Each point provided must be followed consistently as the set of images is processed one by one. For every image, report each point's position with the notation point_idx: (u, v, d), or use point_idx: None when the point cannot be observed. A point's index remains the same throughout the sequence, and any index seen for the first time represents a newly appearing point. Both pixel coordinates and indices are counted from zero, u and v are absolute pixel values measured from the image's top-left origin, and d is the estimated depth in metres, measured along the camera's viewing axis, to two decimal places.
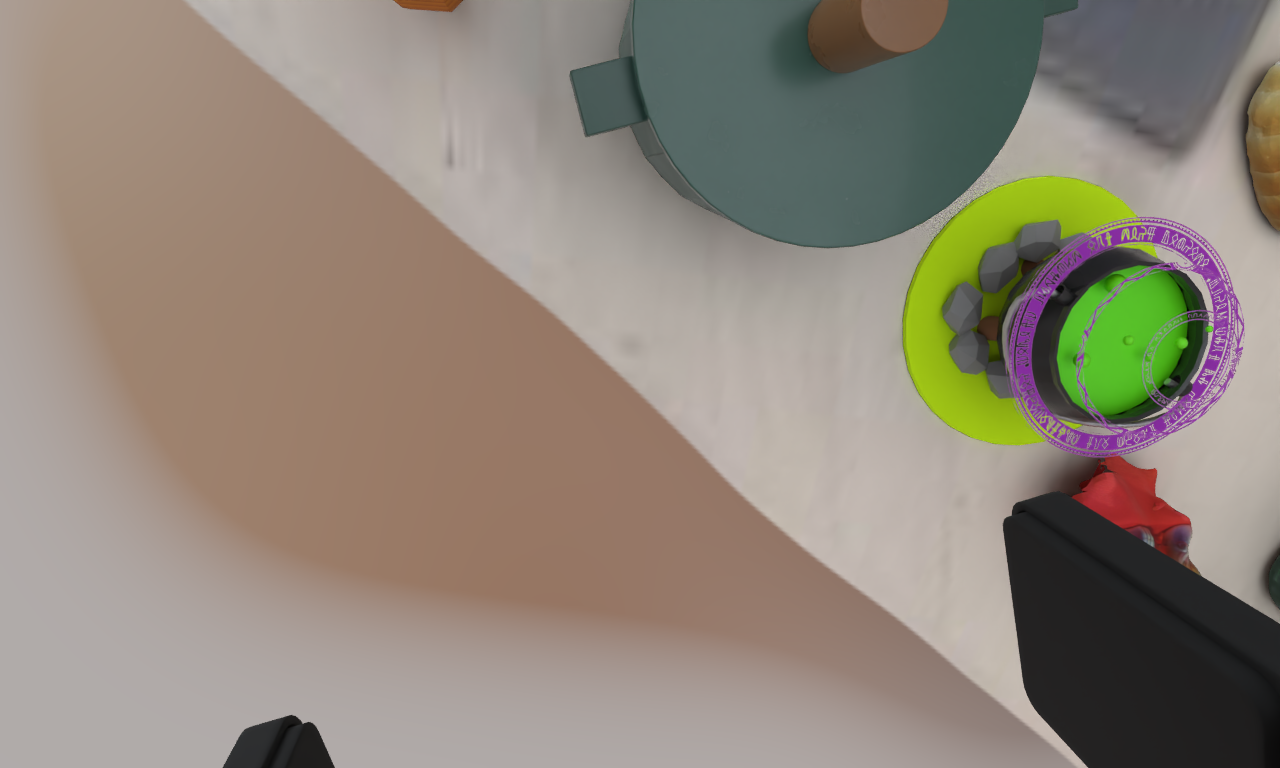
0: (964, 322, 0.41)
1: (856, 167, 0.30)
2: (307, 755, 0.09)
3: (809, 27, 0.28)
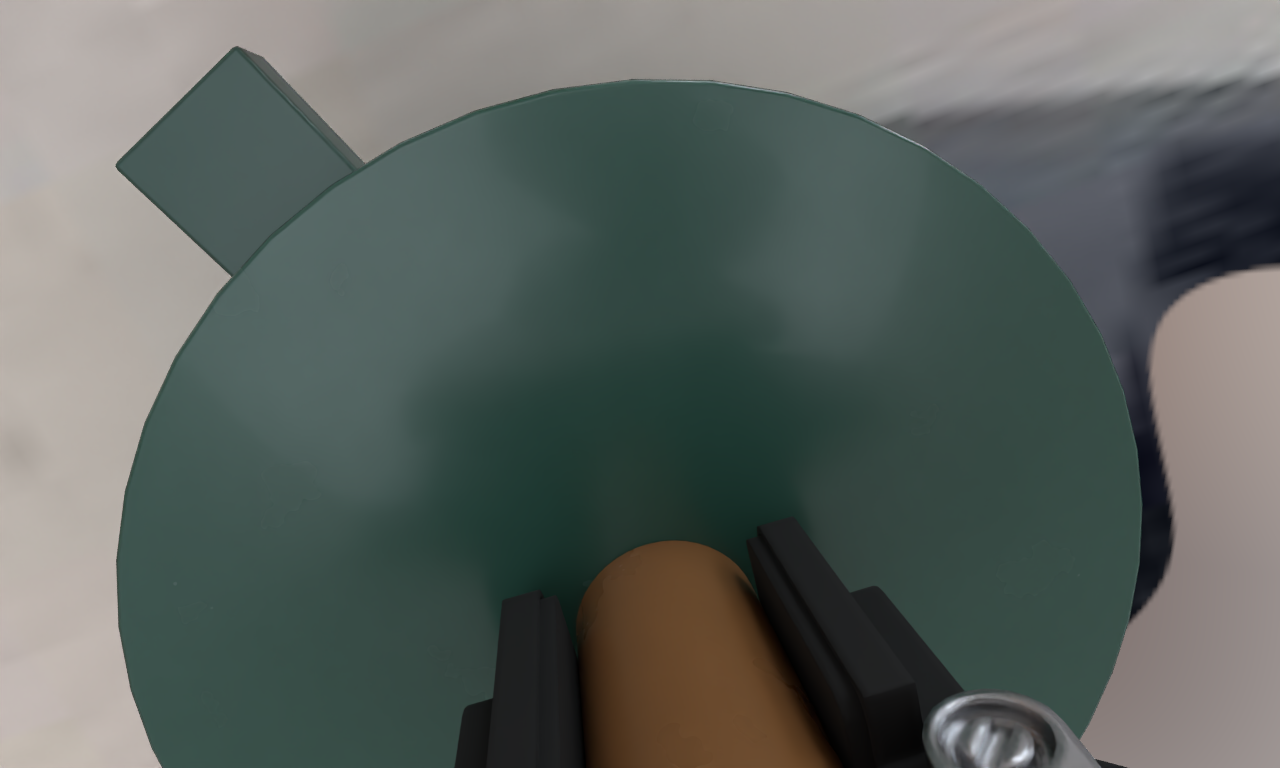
0: None
1: None
2: (560, 620, 0.10)
3: (633, 555, 0.11)
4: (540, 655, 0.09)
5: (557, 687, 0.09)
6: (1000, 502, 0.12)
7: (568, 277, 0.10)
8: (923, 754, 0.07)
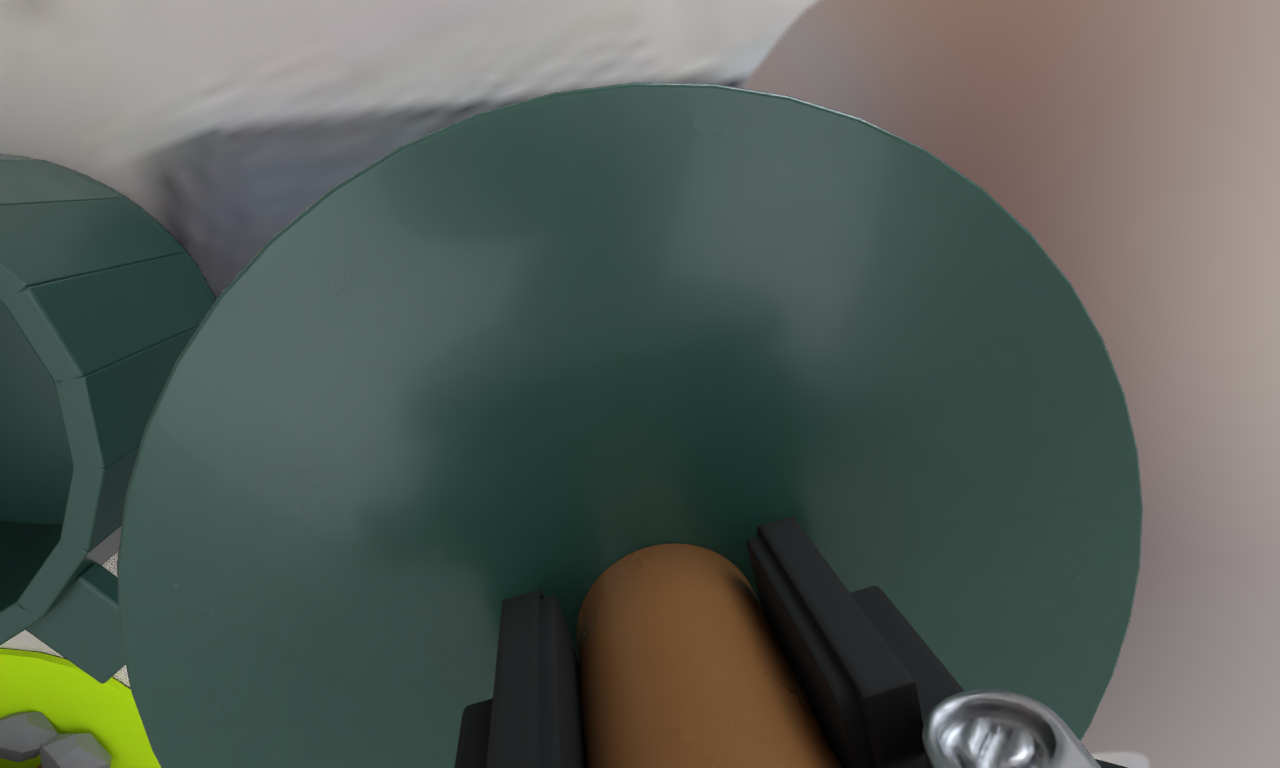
0: None
1: None
2: (560, 621, 0.10)
3: (634, 558, 0.11)
4: (540, 656, 0.09)
5: (557, 687, 0.09)
6: (1001, 505, 0.12)
7: (569, 280, 0.10)
8: (923, 754, 0.07)
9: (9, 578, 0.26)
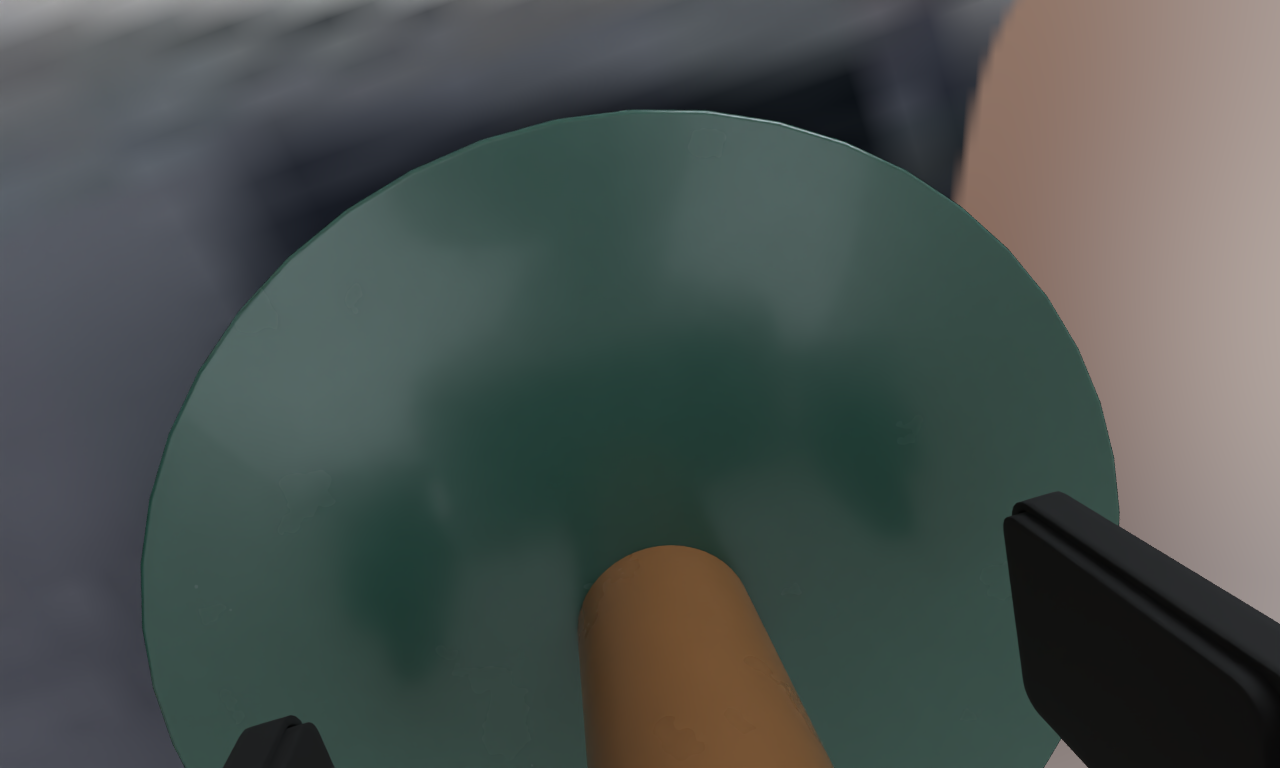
0: None
1: None
2: (307, 755, 0.09)
3: (632, 559, 0.12)
4: None
5: None
6: (983, 508, 0.13)
7: (570, 295, 0.11)
8: None
9: None
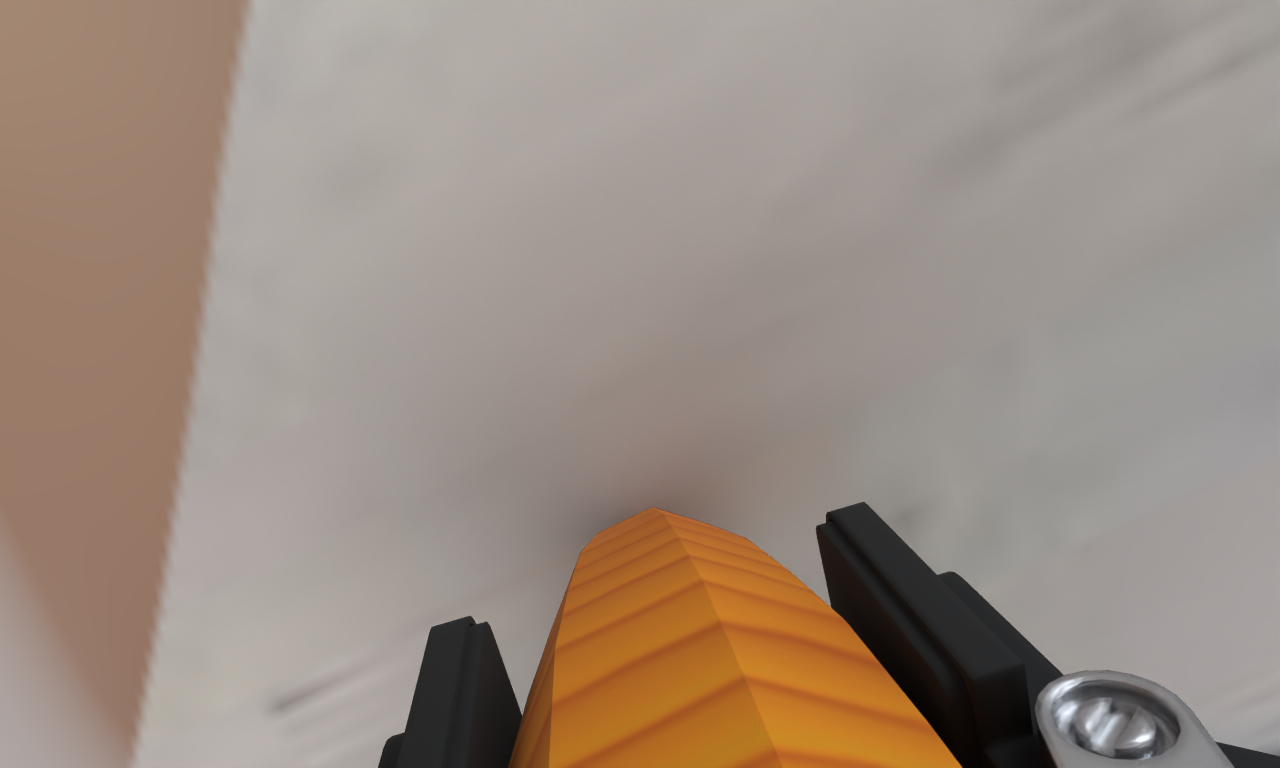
0: None
1: None
2: (490, 648, 0.10)
3: None
4: (460, 688, 0.09)
5: (471, 723, 0.09)
6: None
7: None
8: (1030, 737, 0.07)
9: None
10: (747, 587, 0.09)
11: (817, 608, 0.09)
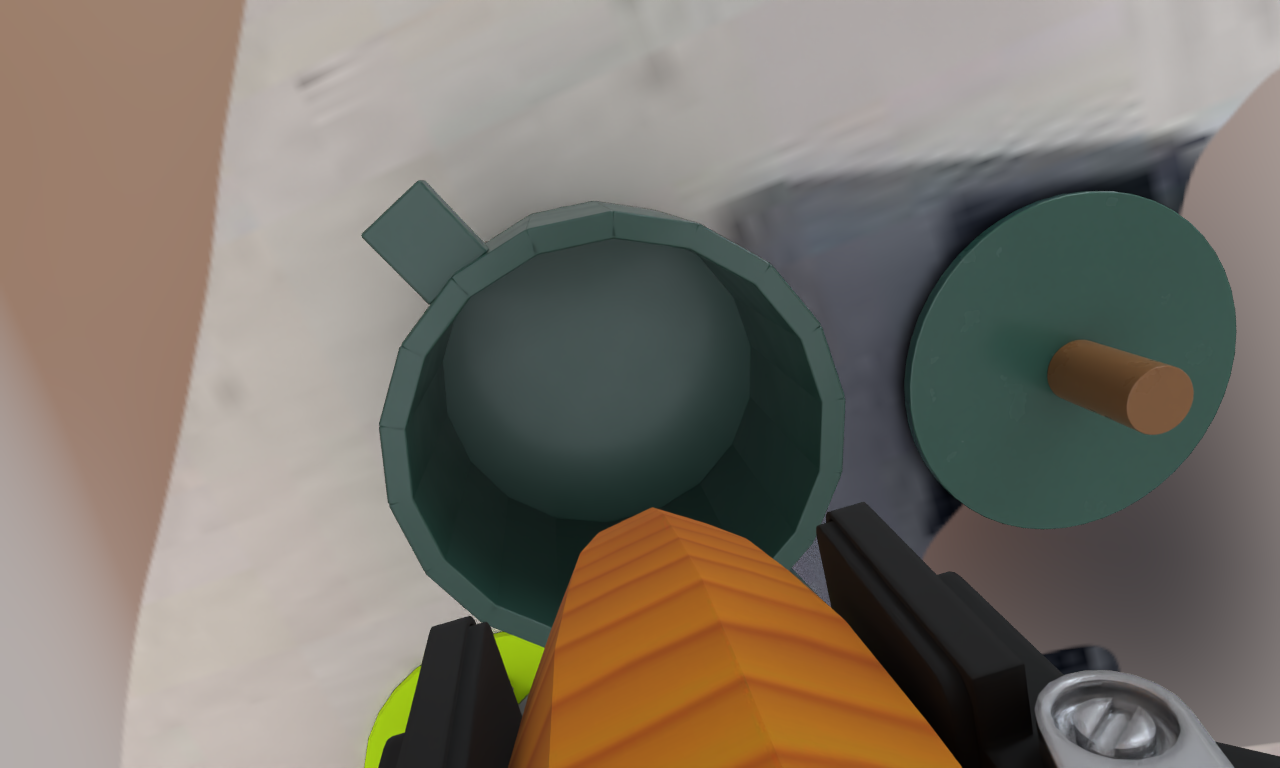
0: None
1: (987, 434, 0.35)
2: (490, 649, 0.10)
3: (1072, 343, 0.34)
4: (460, 688, 0.09)
5: (471, 723, 0.09)
6: (1188, 329, 0.35)
7: (1063, 251, 0.33)
8: (1029, 737, 0.07)
9: None
10: (748, 588, 0.09)
11: (817, 608, 0.09)
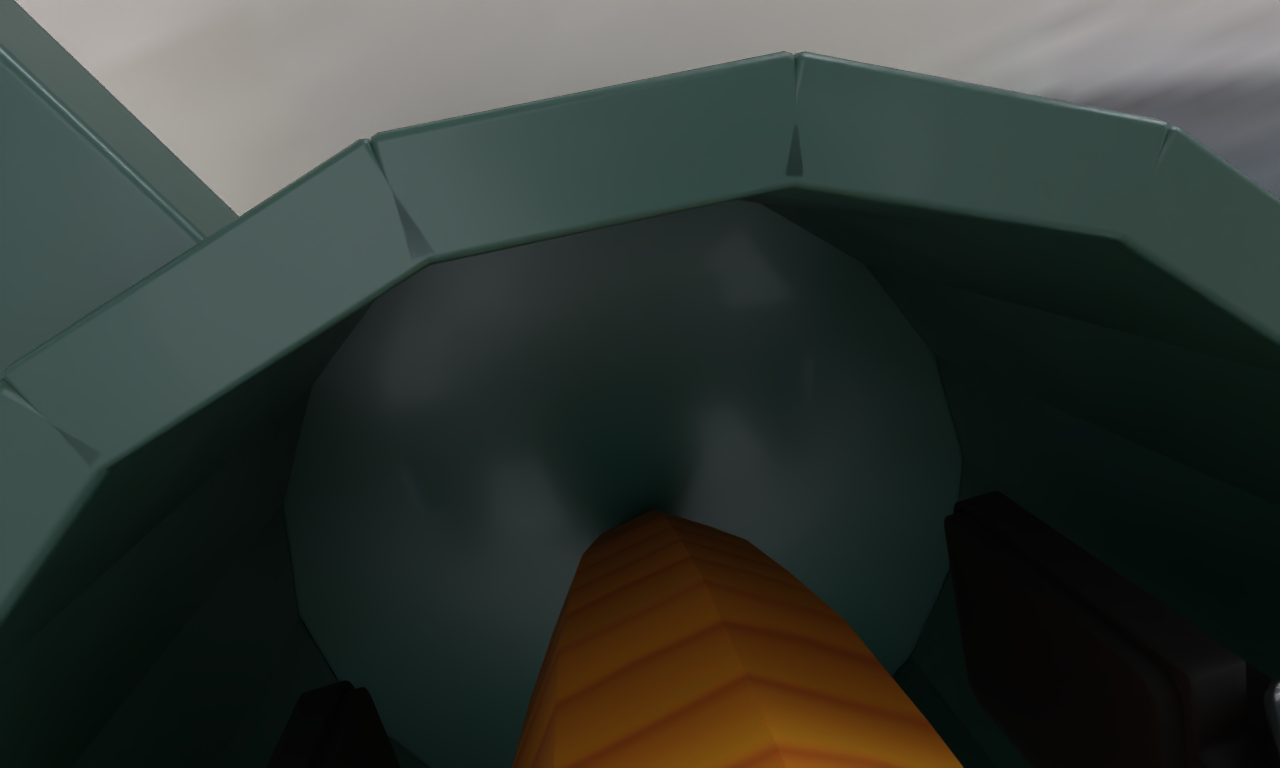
0: None
1: None
2: (363, 717, 0.10)
3: None
4: None
5: None
6: None
7: None
8: (1246, 741, 0.07)
9: None
10: (748, 588, 0.09)
11: (817, 608, 0.09)
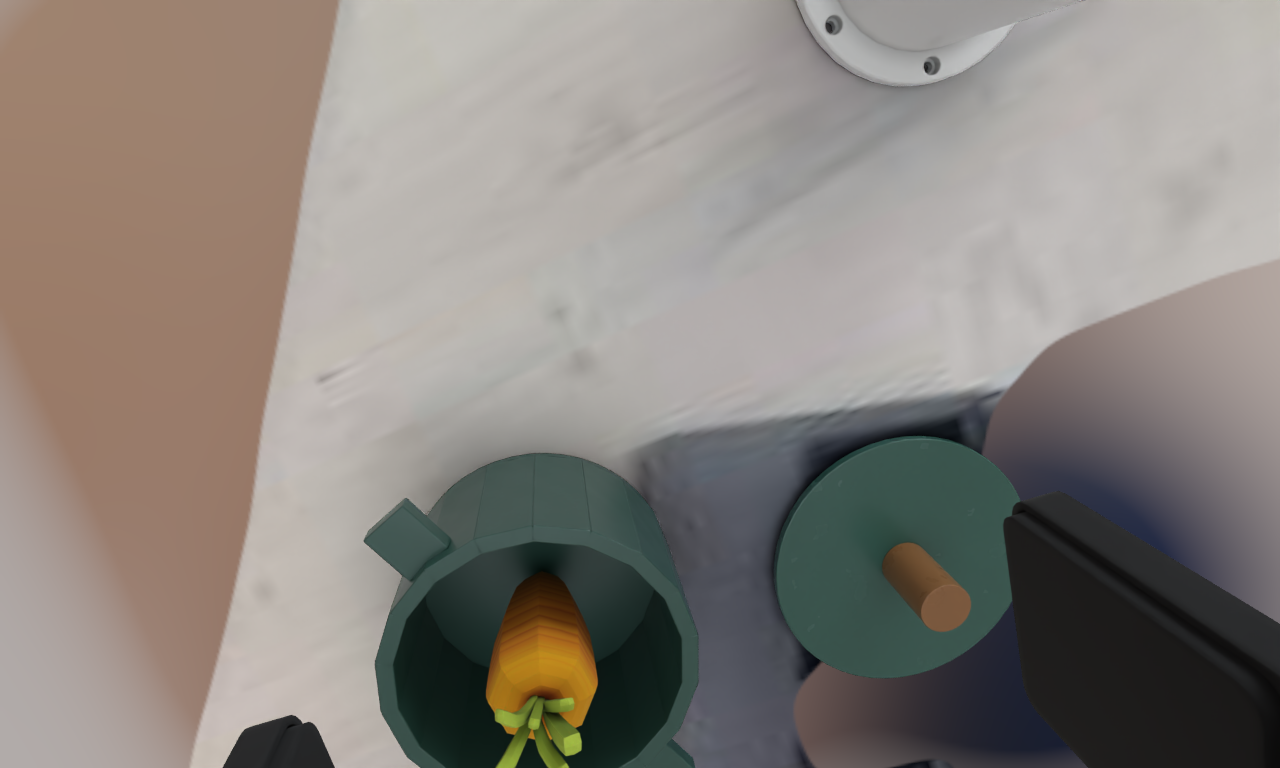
0: None
1: (838, 611, 0.46)
2: (307, 755, 0.09)
3: (899, 546, 0.46)
4: None
5: None
6: (990, 532, 0.46)
7: (889, 481, 0.45)
8: None
9: None
10: (551, 597, 0.38)
11: (568, 602, 0.38)
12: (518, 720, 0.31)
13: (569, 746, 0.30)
